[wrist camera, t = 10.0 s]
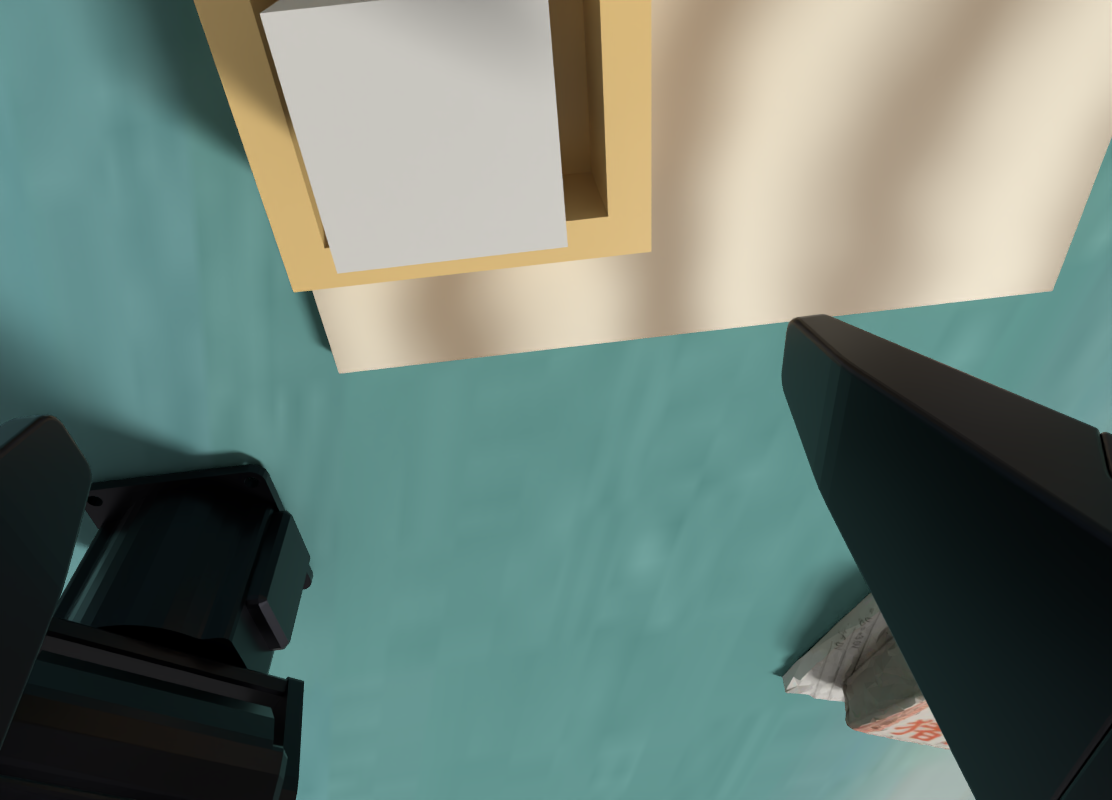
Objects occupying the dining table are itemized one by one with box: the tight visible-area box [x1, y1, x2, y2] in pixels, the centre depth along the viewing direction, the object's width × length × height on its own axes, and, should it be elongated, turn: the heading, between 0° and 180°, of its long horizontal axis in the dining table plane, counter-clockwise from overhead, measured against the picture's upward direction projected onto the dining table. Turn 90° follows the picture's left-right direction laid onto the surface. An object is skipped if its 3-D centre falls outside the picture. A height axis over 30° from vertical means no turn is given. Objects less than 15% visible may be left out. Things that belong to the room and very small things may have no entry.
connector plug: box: [260, 0, 568, 274], centre depth 14 cm, size 4×4×7 cm
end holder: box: [194, 0, 651, 292], centre depth 16 cm, size 8×8×4 cm
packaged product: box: [782, 593, 950, 749], centre depth 36 cm, size 18×5×10 cm
